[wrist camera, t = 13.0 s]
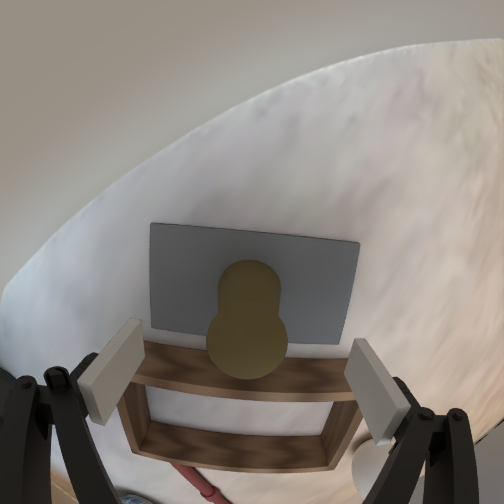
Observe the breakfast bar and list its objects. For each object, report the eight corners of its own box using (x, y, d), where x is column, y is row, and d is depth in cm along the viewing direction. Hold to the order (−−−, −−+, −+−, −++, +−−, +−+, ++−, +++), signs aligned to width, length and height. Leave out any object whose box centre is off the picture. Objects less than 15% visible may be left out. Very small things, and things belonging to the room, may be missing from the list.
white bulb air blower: (338, 442, 32) (365, 538, 14) (386, 420, 31) (428, 510, 14) (350, 461, 34) (374, 542, 16) (392, 441, 33) (427, 519, 15)
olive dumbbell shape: (237, 247, 25) (225, 290, 14) (293, 279, 26) (318, 339, 15) (206, 300, 26) (179, 366, 15) (260, 328, 27) (262, 405, 16)
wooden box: (144, 424, 31) (132, 452, 26) (129, 337, 28) (107, 366, 22) (326, 439, 32) (334, 470, 26) (358, 358, 28) (375, 389, 23)
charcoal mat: (153, 325, 28) (151, 327, 27) (152, 222, 25) (150, 223, 25) (337, 341, 28) (338, 344, 27) (358, 242, 25) (360, 243, 25)
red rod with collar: (157, 439, 33) (152, 454, 30) (174, 439, 32) (170, 454, 29) (251, 526, 42) (251, 534, 39) (263, 525, 42) (263, 534, 39)
